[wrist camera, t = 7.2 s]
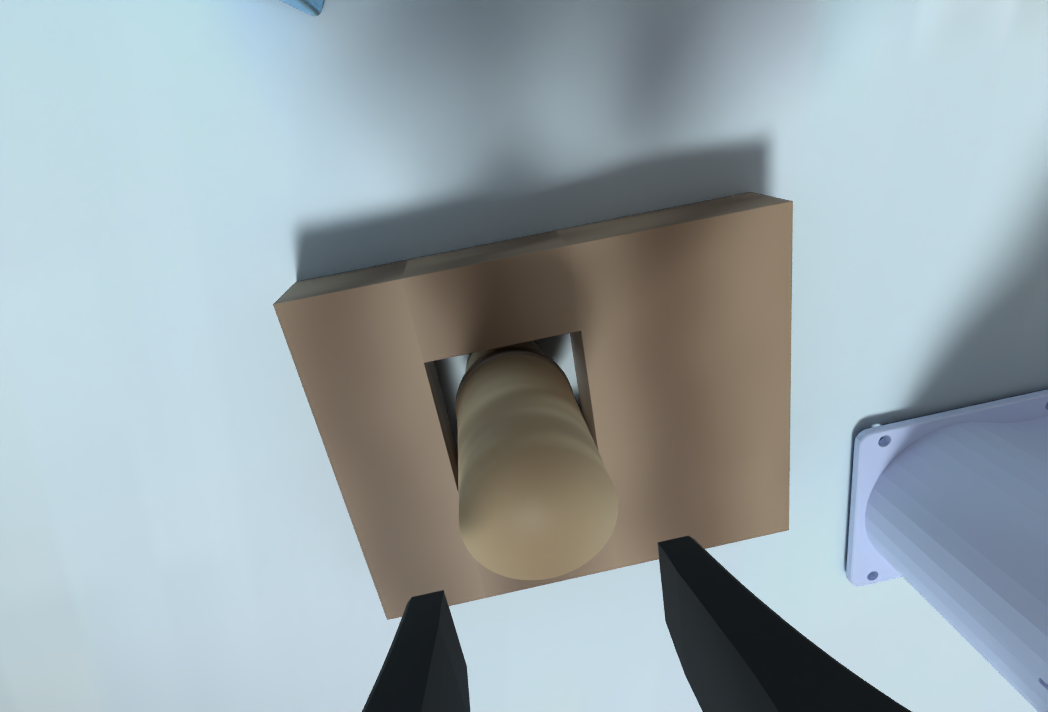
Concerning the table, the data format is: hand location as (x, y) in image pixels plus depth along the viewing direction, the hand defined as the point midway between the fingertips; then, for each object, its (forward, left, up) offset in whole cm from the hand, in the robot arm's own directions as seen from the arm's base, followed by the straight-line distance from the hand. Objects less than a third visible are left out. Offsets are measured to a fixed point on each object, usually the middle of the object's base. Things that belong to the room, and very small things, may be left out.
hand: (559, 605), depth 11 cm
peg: (0, 0, -10) cm, 10 cm away
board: (-2, +1, -10) cm, 10 cm away
